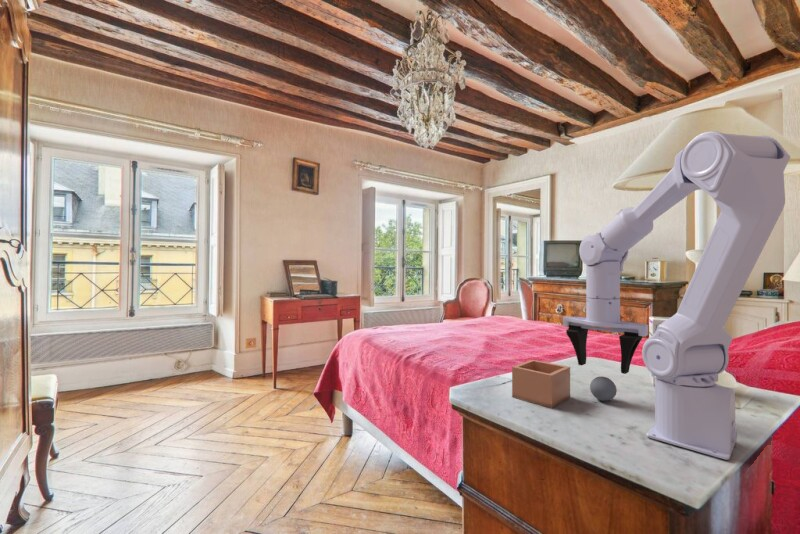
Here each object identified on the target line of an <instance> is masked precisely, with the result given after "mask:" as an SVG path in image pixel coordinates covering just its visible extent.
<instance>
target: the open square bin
mask: <svg viewBox="0 0 800 534" xmlns="http://www.w3.org/2000/svg"><path fill="white" fill-rule="evenodd" d="M511 384H512V385H511V387H512V388H511V398H515V399H518V400H521V401H525V402H529V403H532V404H535V405H539V406H542V407H546V408H549V409H553V408H555V407H557V406H558V405H561V403H563V402H565V401H567V400H569V399H570V398H571V366H566V365H562V364H555V363H552V362H546V361H542V360H541V361H540V360H536V359H530V360H528V361H525V362H521V363H519V364H516V365H514V366H512V367H511Z"/></svg>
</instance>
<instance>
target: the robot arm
mask: <svg viewBox="0 0 800 534" xmlns="http://www.w3.org/2000/svg"><path fill="white" fill-rule="evenodd" d="M790 159H791V155H790V154H789V153H788V152H787V151H786V150H785V148H784V147H783V145H782V144H780V142H779V141H778V140H777V139H775V138H773V137H771V136H769V135H768V136H767V135H745V134H744V135H743V134H735V133H723V132H722V131H721V132H720V131H716V130H715V131H713V130H712V131H711V130H710V131H705V132H702V133H700V134H697V136H695V137H694V138H692V139H691V141H689V142H688V144H686V146H685V148H683V149H682V150H680V151H679V152H678V153H677V154H676V155H675V156H674V162H673V163H674V164H673V166H672V168H671V169H670V170H669V171H668V172H667V173H666V174H665V176H664V177H663V178H661V180H660V181H659V182H658V183H657V184H656V185H655V186H654V187H653V188H652V189H651V191H650V192H649V193H648V194H647V195H646V196H645V197H644V198H643V199H642V200H641V201H640V202H639V203H638V204H637V205H636V207H632V206H631V207H629V206H628V207H625V208H622V209H619V210H618V212H617V213H616V216H615V217H614V218H613V219H612V220H611V221H610V222H608V223H607V225H606V226H604V227H603V228H601V229H600V231H599V232H596V233H595V234H594V233H593V234H592V233H591V234H587V235H585V236H584V238H583V239H582V240H581V242H580V245H579V257H580V260H581V262H582V263H583V264H585V267H586V269H585V275H586V277H585V281H586V284H585V285H586V289H585V292H586V293H585V294H586V296H585V299H586V301H585V302H586V304H585V306H586V308H585V309H586V310H585V311H586V312H585V315H586V317H584V316H583V317H581V316H580V317H579V316H568V315H567V316H563V317H562V326H563V327H565V328H567V329H566V330H565V333H566V335H567V337H568V339H569V340H570V342H571V344H572V346H573V350H574V352H575V355H576V359H577V365H578V366H583V365H586V363H587V340H588V332H589V330H594V331H603V332H609V333H610V332H611V333H619V334H622V335H619V336H618V337H619V338H618V339H619V344H620V345H619V346H620V353H621V355H620V356H621V357H620V359H621V360H620V372H621V374H624V375H626V374H628V373H629V372H630V366H631V363H632V359H633V357H634V354H635V352H636V350H637V348H638V347H639V345H640V342H641V341H642V340H643V337H647V336H648V335H649V324H646V323H638V322H632V321H625V320H621V274H622V272H623V271H624V264H625V262H626V260H627V258H628V256H629V255H628V254H629V250H630V249H632V248H633V247H634V246H636V245H637V244H638V243H639V242H641V241H642V240H644V238H645V237H646V236H648V235H649V234H650V233H652V231H653V230H654V221H655V220H657V219H658V218H660V217H661V216H662V215H663V214H664V213H666V212H667V211H669V210H670V209H672V208H673V207H674V206H675V205H677V204H678V203H680V202H681V201H682V200H684V199H685V198H686V197H688V196H689V195H690V194H692V193H694V192H695V191H699V190H702V191H703V192H705V193H706V194H707V195H709V196H710V197H711V198H712V199H713V201H714V202H715V204H716V205H717V206H718V208H719V210H720V213H719V215H718V217H717V220H716V222H715V225H714V227H713V229H712V231H711V234H710V236H709V238H708V241H707V242H706V245H705V247H704V249H703V252H702V254H701V256H700V258H699V260H698V263H697V265H696V267H695V270H694V272H693V274H692V276H691V279H690V281H689V284H688V287H687V289H686V291H685V293H684V295H683V297H682V299H681V301H680V304H679V306H678V309H677V311H676V313H674V314H673V315H672V316H671V317H670V316H669V317H670V318H669V319H667V320H666V321H664V322H663V323H661V324H660V325H659V326H658V327H657V330H656V332H655V333H654V335H653V336H651V337H650V338H649V337H648V338H647V339H646V340H645V341H644V344H643V345H642V352H641V357H642V361H643V363H644V365H645V367H646V369H647V370H648V371H649V373H650V372H651V376H652V377H654V378H655V386H654V424H653V426H652V427H651V428H650V429H649V430H648V431H647V432H646V433H645V434H646V437H647V438H650V439H652V440H656V441H659V442H664V443H666V444H670V445H673V446H677V447H681V448H684V449H688V450H691V451H695V452H698V453H702V454H704V455H708V456H712V457H715V458H718V459H723V460H725V461H726V460H730V458H731V457H732V456H731V455H732V453H733V451H734V447H735V445H736V443H737V438H738V433H737V432H738V431H737V429H736V394H735V389H734V388H732V387H728V386H723V385H720V384H717V383H716V382H719V375H720V374H721V373H723V372H724V371H725V370H726V369H727V368H728V365H729V361H730V355H729V347H730V345H731V343H732V341H733V337H732V336H731V335H730V333H728V331H727V330H726V329H725V328H724V326H725V325H726V323H727V321H728V319H729V317H730V315H731V313H732V311H733V310H734V308H735V305H736V303H737V301H738V299H739V297H740V295H741V293H742V291H743V289H744V288H745V285H746V284H747V281H748V279H749V278H750V275H751V273H752V271H753V270H754V268H755V266H756V264H757V262H758V260H759V258H760V256H761V254H762V253H763V250H764V248H765V245H766V244H767V242H768V240H769V238H770V236H771V233H772V232H773V230H774V229H775V226H776V224H777V222H778V221H779V218H780V216H781V214H782V212H783V210H784V207H785V204H786V193H785V192H786V190H785V175H784V174H785V173H784V172H785V170H786V168H787V166H788V163H789V162H790Z"/></svg>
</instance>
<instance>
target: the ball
mask: <svg viewBox="0 0 800 534" xmlns="http://www.w3.org/2000/svg"><path fill="white" fill-rule="evenodd" d="M589 389H590V393H591V395H592V396H593V397H595V399H597V400H599V401H601V402H609V401H612V400H613V399H614V398H615V397H616V395H617V390H618V389H617V386H616V384H615V383H614V381H613V380H612V379H611V378H609V377H606V376H596V377H595V378H593V379H592V380H591V382H590V385H589Z"/></svg>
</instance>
